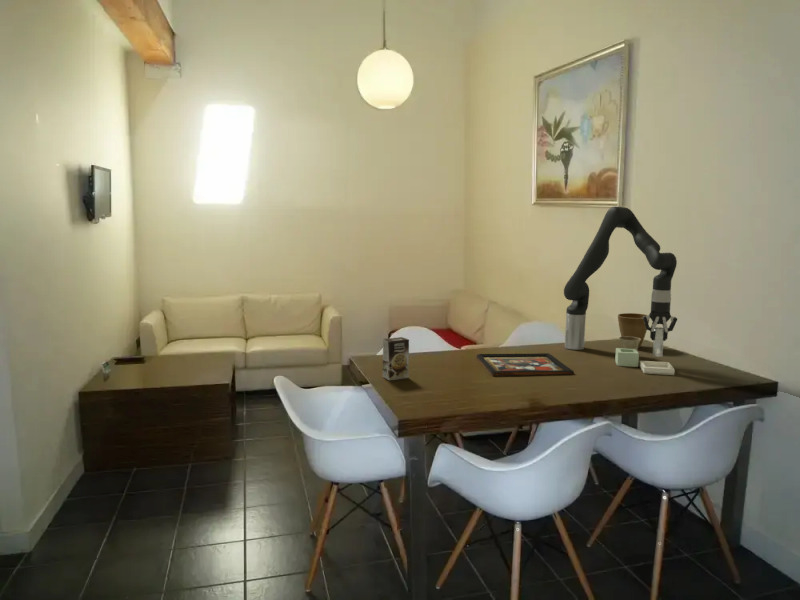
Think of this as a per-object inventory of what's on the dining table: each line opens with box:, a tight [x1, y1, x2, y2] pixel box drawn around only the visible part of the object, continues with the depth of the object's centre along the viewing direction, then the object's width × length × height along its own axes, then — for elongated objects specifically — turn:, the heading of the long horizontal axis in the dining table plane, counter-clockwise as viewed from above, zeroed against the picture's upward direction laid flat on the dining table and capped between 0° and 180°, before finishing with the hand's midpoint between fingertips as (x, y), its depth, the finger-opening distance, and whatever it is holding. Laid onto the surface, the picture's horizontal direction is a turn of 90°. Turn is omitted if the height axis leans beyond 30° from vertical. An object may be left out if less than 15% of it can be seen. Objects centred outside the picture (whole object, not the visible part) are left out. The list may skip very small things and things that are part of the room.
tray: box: [638, 360, 676, 376], centre depth 266 cm, size 12×12×2 cm
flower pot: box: [619, 336, 641, 351], centre depth 290 cm, size 9×9×9 cm
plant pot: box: [617, 312, 650, 349], centre depth 309 cm, size 15×15×16 cm
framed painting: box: [476, 352, 575, 377], centre depth 273 cm, size 38×35×3 cm
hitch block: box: [614, 347, 640, 368], centre depth 276 cm, size 9×9×6 cm
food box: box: [382, 336, 410, 381], centre depth 253 cm, size 9×6×16 cm
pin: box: [652, 326, 665, 358], centre depth 264 cm, size 4×4×12 cm
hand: (658, 340), depth 264 cm, fingers closed on pin, 4 cm apart
